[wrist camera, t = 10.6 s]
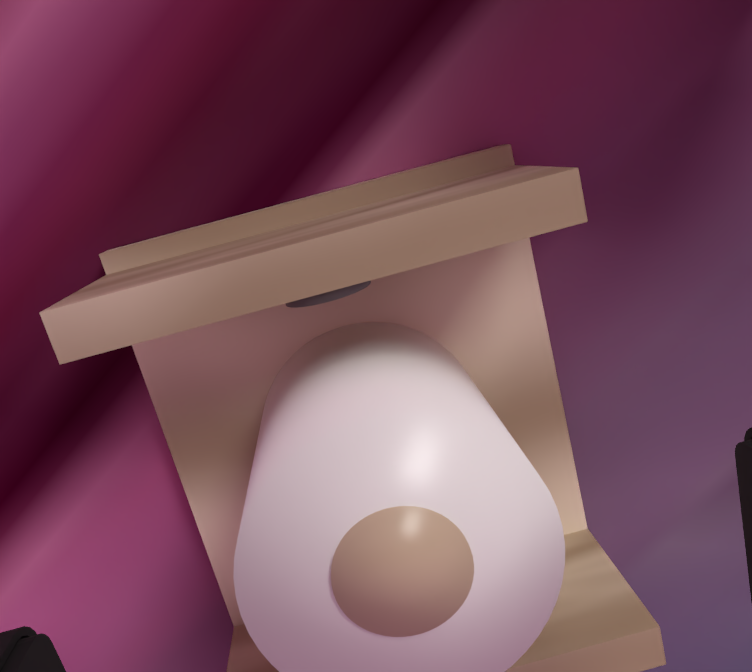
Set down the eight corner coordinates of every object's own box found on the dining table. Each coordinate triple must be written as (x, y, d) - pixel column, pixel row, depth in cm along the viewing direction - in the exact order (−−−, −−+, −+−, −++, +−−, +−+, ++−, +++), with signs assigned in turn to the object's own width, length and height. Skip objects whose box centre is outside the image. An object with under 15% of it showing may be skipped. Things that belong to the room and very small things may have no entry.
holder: (108, 250, 17) (28, 286, 12) (501, 144, 18) (573, 140, 13) (252, 652, 20) (234, 805, 16) (586, 559, 21) (669, 682, 16)
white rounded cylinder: (233, 355, 17) (186, 470, 11) (452, 296, 18) (532, 375, 11) (296, 550, 19) (287, 751, 12) (499, 495, 19) (593, 665, 13)
